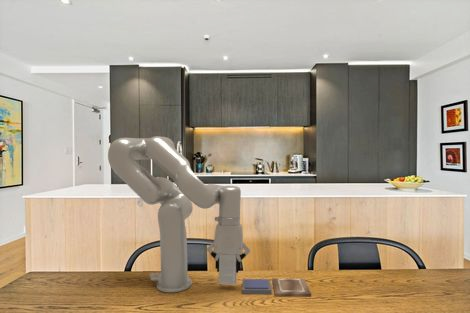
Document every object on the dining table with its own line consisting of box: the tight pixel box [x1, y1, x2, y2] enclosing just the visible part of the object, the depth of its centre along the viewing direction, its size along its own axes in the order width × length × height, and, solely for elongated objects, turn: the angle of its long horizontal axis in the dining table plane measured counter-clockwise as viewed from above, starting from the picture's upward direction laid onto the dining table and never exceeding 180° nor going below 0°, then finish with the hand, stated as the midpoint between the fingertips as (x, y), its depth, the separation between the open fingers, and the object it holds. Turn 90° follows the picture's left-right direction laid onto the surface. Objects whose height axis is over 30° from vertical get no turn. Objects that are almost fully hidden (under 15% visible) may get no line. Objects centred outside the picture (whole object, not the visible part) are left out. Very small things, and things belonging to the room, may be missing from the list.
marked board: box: [271, 278, 312, 298], centre depth 110 cm, size 12×12×1 cm
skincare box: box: [218, 254, 238, 286], centre depth 111 cm, size 6×4×12 cm
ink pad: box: [241, 278, 273, 295], centre depth 111 cm, size 10×9×2 cm
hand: (227, 270), depth 111 cm, fingers closed on skincare box, 6 cm apart
